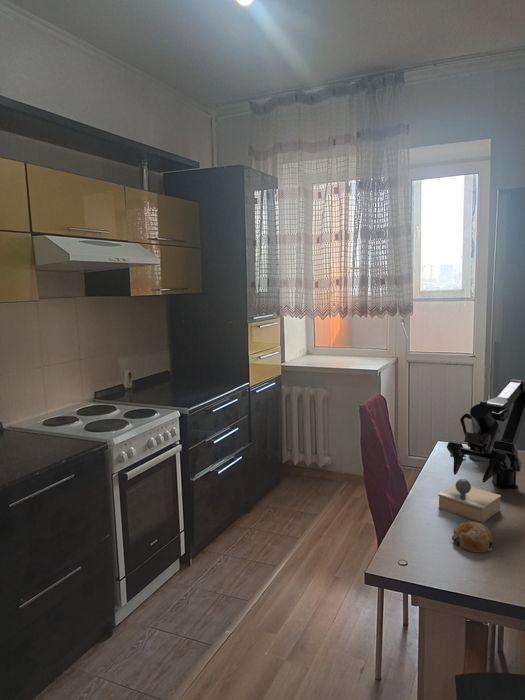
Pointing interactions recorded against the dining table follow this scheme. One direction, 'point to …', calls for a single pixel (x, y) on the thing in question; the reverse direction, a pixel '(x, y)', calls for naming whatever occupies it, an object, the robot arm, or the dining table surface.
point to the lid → (469, 495)
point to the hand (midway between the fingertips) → (468, 477)
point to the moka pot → (474, 429)
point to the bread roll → (473, 537)
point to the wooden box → (469, 509)
